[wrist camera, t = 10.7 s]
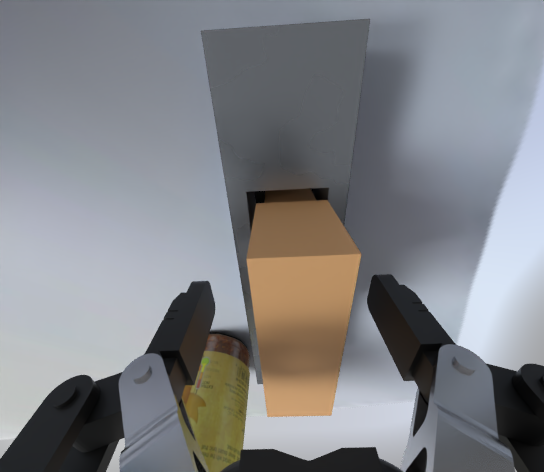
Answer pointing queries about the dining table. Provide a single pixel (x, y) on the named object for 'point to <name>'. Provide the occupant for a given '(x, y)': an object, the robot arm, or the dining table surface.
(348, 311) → the orange block
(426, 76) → the dining table surface
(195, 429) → the sauce bottle
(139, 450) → the robot arm
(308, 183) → the rail
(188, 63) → the dining table surface
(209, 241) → the dining table surface
